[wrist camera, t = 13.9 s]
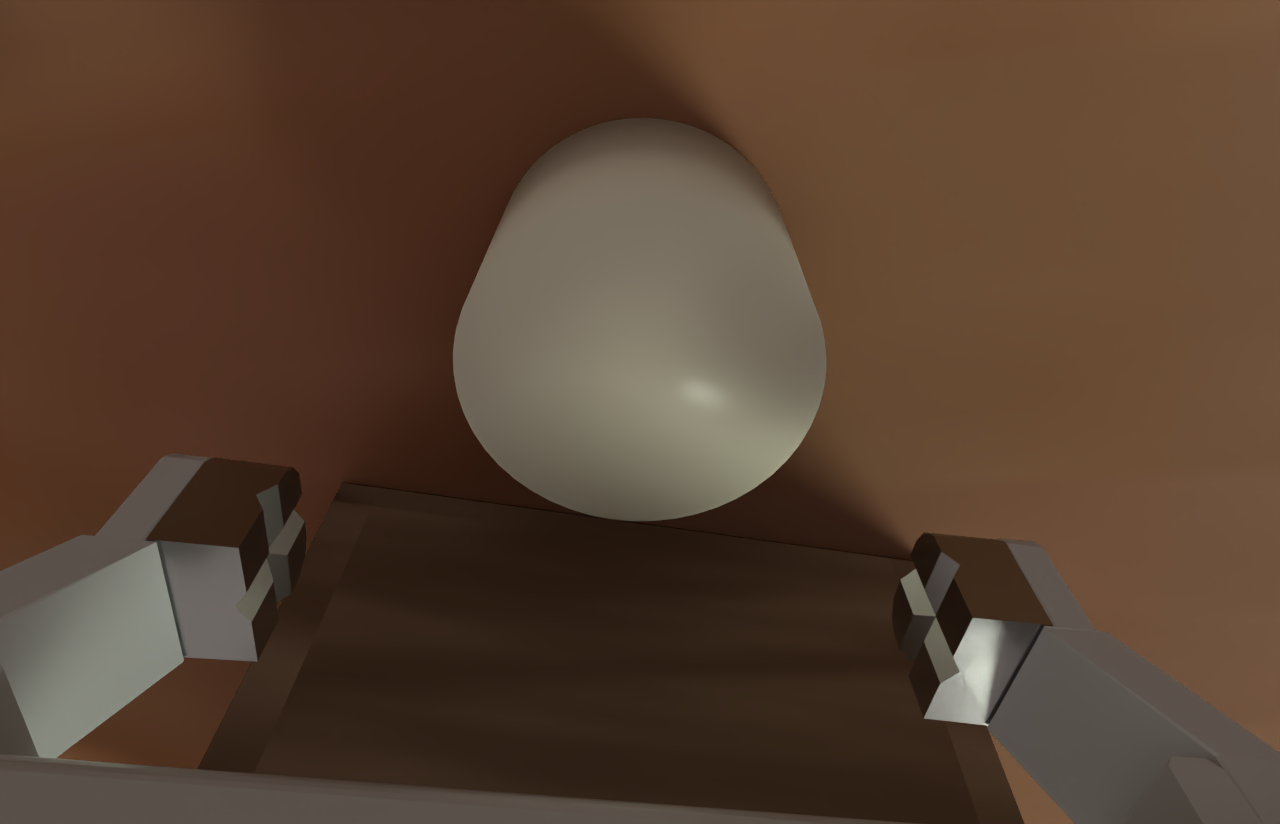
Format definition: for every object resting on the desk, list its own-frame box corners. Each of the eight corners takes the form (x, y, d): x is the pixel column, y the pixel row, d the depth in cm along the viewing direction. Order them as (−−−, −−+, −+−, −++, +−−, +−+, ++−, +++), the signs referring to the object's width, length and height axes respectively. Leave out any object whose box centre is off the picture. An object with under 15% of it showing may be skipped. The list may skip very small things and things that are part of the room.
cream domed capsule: (510, 90, 13) (461, 166, 10) (823, 146, 14) (878, 237, 10) (488, 365, 16) (445, 496, 13) (748, 405, 16) (772, 541, 13)
